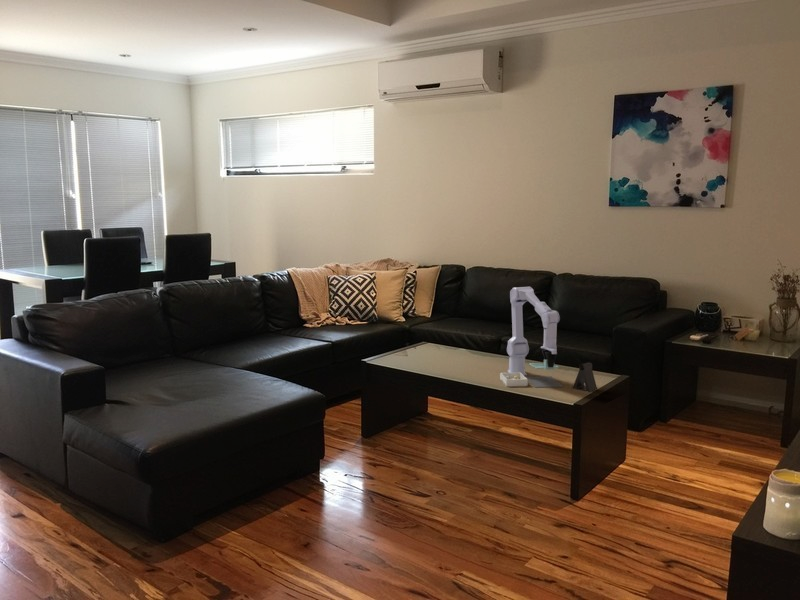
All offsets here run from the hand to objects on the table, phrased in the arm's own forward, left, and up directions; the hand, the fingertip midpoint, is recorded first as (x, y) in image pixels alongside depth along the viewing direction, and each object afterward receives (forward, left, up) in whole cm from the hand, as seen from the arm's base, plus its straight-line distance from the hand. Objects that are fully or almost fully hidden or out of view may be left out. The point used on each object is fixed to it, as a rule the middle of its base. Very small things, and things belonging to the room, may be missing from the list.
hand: (549, 366), depth 312 cm
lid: (-7, 0, -2) cm, 7 cm away
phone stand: (+5, +15, -10) cm, 19 cm away
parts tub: (-9, -15, -10) cm, 19 cm away
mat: (-8, 0, -10) cm, 13 cm away
